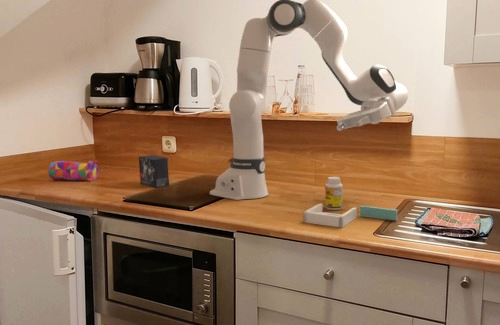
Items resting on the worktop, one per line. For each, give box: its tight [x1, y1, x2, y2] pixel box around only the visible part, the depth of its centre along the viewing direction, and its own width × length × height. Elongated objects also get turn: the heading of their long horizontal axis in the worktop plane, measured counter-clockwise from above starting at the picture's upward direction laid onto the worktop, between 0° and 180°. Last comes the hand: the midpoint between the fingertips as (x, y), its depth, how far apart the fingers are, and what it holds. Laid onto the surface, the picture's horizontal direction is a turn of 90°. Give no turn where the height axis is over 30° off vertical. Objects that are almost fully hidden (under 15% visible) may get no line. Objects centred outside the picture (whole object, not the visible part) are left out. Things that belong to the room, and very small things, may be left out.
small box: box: [138, 154, 170, 189], centre depth 194 cm, size 13×7×12 cm, turn 42°
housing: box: [302, 203, 358, 229], centre depth 138 cm, size 12×12×3 cm
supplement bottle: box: [324, 176, 344, 211], centre depth 150 cm, size 6×6×10 cm
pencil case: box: [47, 160, 101, 182], centre depth 209 cm, size 22×9×9 cm, turn 82°
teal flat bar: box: [359, 205, 398, 221], centre depth 138 cm, size 11×1×3 cm, turn 58°
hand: (347, 126), depth 153 cm, fingers open, 8 cm apart
